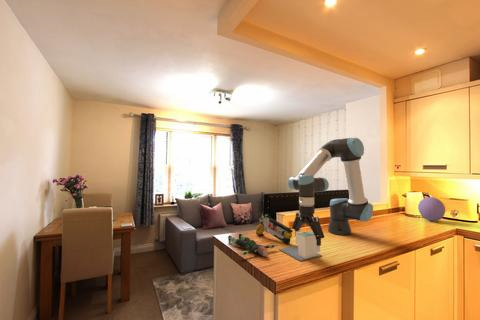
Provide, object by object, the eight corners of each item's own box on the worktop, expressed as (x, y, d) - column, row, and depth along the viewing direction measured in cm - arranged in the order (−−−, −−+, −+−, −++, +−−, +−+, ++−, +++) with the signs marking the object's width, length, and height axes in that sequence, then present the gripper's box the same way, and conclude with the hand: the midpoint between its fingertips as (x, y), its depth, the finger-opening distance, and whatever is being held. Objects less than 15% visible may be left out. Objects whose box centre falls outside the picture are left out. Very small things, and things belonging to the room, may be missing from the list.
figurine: (215, 246, 131) (245, 267, 106) (216, 235, 131) (245, 253, 106) (251, 238, 145) (285, 255, 120) (251, 228, 145) (285, 243, 120)
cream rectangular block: (310, 252, 118) (309, 231, 119) (317, 255, 114) (316, 233, 114) (298, 255, 115) (297, 233, 115) (305, 258, 110) (304, 235, 111)
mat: (299, 246, 130) (299, 245, 130) (322, 256, 115) (322, 255, 115) (279, 250, 124) (279, 248, 124) (300, 261, 108) (300, 260, 108)
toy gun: (258, 231, 154) (262, 210, 152) (288, 251, 136) (294, 228, 133) (253, 232, 152) (257, 211, 149) (284, 253, 133) (289, 230, 130)
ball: (445, 225, 176) (444, 199, 177) (417, 221, 188) (416, 197, 188) (445, 221, 189) (445, 197, 189) (419, 218, 200) (419, 195, 201)
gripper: (285, 202, 125) (285, 241, 124) (319, 210, 102) (320, 257, 102) (296, 201, 128) (296, 239, 127) (331, 208, 106) (332, 254, 105)
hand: (307, 247), depth 114 cm, fingers open, 13 cm apart
